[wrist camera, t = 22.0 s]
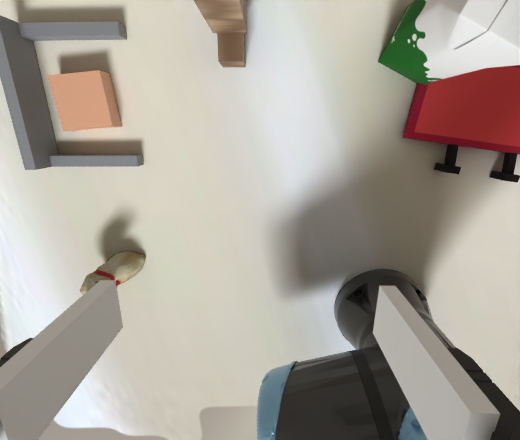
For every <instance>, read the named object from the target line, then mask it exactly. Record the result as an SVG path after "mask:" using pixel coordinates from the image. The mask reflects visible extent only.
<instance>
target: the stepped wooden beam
mask: <svg viewBox="0 0 520 440" xmlns="http://www.w3.org/2000/svg"><path fill="white" fill-rule="evenodd" d="M194 2H195V3H196V5H197V7H198V8H199V10H200V12H201V13H202V15H203V17H204V18H205V20H206V22H207V23H208V25H209V27H210V29H211V30H212V32H213V33H217V36H218V58H219V62H220V64H221V65H222V66H223V67H245V33H247V27H246V0H194Z"/></svg>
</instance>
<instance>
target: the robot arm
mask: <svg viewBox="0 0 520 440" xmlns="http://www.w3.org/2000/svg"><path fill="white" fill-rule="evenodd" d="M334 313H335V318H336V321H337V324H338V327H339V329H340V331H341V333H342V335H343V336H344V337H345V338H346V339H347V340H348V341H349V342H350V343H351V344H352V346H353V347H354V348H355V349H356V350H353V351H348V352H343V353H338V354H334V355H329V356H325V357H320V358H315V359H311V360H306V361H302V362H298V361H294V362H292V363H291V364H289V365H285V366H282V367H278V368H275V369H272V370H270V371H269V372H268V373H267V374H266V375H265V377H264V379H263V381H262V385H261V387H260V392H259V397H258V408H257V439H258V440H520V411H519V410H518V409H517V408H516V407H515V406H514V405H513V404H512V402H511V401H510V400H509V399H508V398H507V397H506V396H505V395H504V394H503V392H502V391H501V390H500V389H499V388H498V387H497V386H496V385H495V383H492V380H491V379H490V378H489V377H488V376H487V375H486V373H483V370H482V369H481V368H480V367H479V366H478V365H477V363H476V362H475V361H474V360H473V359H472V358H471V357H469V356H468V355H466V354H465V353H464V352H462V351H461V350H459V349H458V348H456V347H455V346H454V345H453V344H452V343H451V341H450V340H449V339H448V338H447V337H446V336H445V334H444V333H443V332H442V331H441V330H440V329H439V328H438V326H437V325H436V324H435V323H434V322H433V319H432V316H431V312H430V309H429V306H428V303H427V300H426V297H425V295H424V293H423V292H422V290H421V289H420V288H419V287H418V286H417V285H416V284H415V282H414V281H413V280H411V279H410V278H409V277H408V276H406V275H404V274H402V273H400V272H397V271H393V270H373V271H369V272H366V273H363V274H361V275H359V276H357V277H355V278H353V279H352V280H351V281H349V282H348V283H347V284H346V285H345V286H344V287H343V288H342V290H341V291H340V293H339V295H338V297H337V299H336V302H335V308H334ZM122 327H123V324H122V318H121V312H120V306H119V300H118V294H117V287H116V281H115V280H100V281H99V282H98V283H97V284H95V285H94V286H93V287H92V288H91V289H90V290H89V291H87V292H86V293H85V294H84V295H83V296H82V297H81V298H79V299H78V300H77V301H76V302H75V303H74V304H73V305H71V306H70V307H69V308H68V309H67V310H66V311H64V312H63V313H62V314H61V315H60V316H59V317H58V318H56V319H55V320H54V321H53V322H52V323H51V324H50V325H48V326H47V327H46V328H45V329H44V330H43V331H41V332H40V333H39V334H38V335H37V336H36V337H35V338H29V339H27V340H25V341H24V342H22V343H20V344H18V345H17V346H15V347H13V348H12V349H11V350H10V351H8V352H7V353H6V354H5V355H4V356H3V357H1V360H0V440H38V438H39V437H40V436H41V435H42V433H43V432H44V431H45V429H46V428H47V427H48V425H49V424H50V423H51V421H52V420H53V419H54V417H55V416H56V415H57V413H58V412H59V411H60V409H61V408H62V407H63V405H64V404H65V403H66V401H67V400H68V399H69V398H70V396H71V395H72V394H73V392H74V391H75V390H76V388H77V387H78V386H79V384H80V383H81V382H82V380H83V379H84V378H85V376H86V375H87V374H88V372H89V371H90V370H91V368H92V367H93V366H94V364H95V363H96V362H97V360H98V359H99V358H100V357H101V355H102V354H103V353H104V351H105V350H106V349H107V347H108V346H109V345H110V343H111V342H112V341H113V339H114V338H115V337H116V335H117V334H118V333H119V331H120V330H121V329H122Z"/></svg>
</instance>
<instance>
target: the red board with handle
mask: <svg viewBox="0 0 520 440" xmlns="http://www.w3.org/2000/svg"><path fill="white" fill-rule="evenodd" d="M403 138H409V139H416V140H423V141H430V142H437V143H444V144H448V145H447V151H446V157H445V163H444V164H440V163H436V165H435V168H434V169H435V170H439V171H443V172H447V173H454V174H459V172H460V169H461V167H457V166H455V162H456V157H457V151H458V146H465V147H472V148H479V149H486V150H493V151H500V152H505V156H504V161H503V167H502V172H496V171H492V172H491V175H490V177H491V178H495V179H500V180H504V181H511V182H518V180H519V178H520V176H519V175H514V168H515V163H516V158H517V154H520V65H514V66H503V67H492V68H484V69H480V70H476V71H472V72H468V73H464V74H460V75H457V76H453V77H449V78H445V79H441V80H437V81H435V82H432V83H429V84H427V85H424V84H421V83H418V85H417V88H416V92H415V96H414V99H413V103H412V106H411V110H410V113H409V117H408V120H407V124H406V127H405V131H404V135H403Z"/></svg>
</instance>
